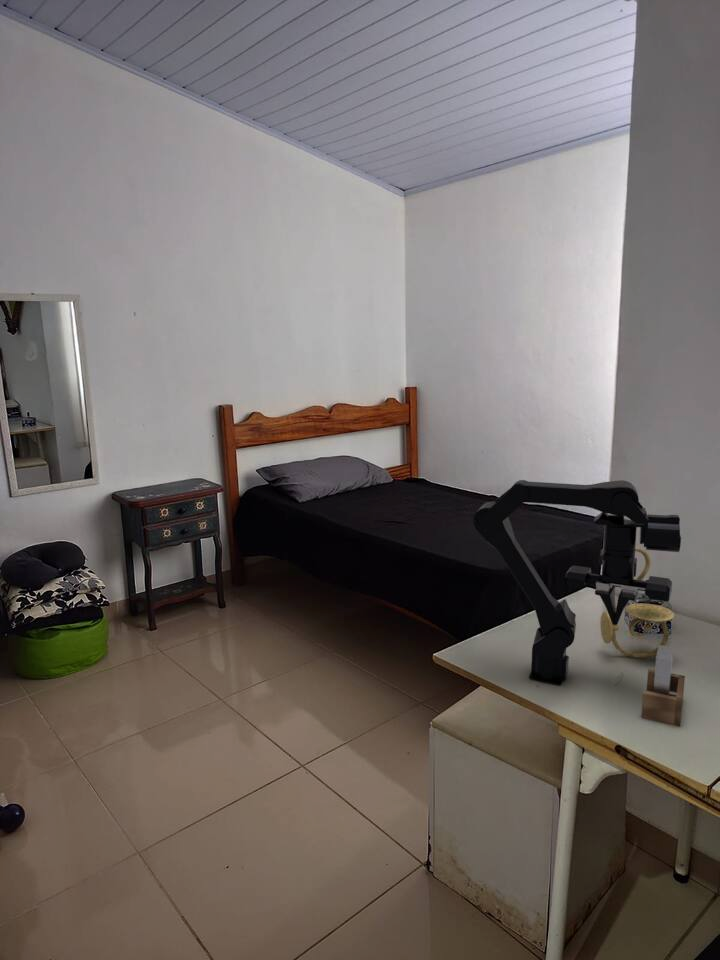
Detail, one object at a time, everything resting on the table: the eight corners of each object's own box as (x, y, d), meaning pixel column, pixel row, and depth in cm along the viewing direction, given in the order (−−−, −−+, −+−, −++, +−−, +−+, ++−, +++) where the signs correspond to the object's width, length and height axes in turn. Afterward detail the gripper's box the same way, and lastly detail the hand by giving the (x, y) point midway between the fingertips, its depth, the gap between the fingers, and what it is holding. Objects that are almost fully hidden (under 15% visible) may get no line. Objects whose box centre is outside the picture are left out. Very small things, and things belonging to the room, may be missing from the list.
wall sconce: (610, 667, 135) (617, 553, 130) (596, 647, 144) (602, 540, 140) (678, 668, 134) (687, 553, 130) (660, 648, 143) (668, 540, 139)
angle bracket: (644, 712, 118) (648, 656, 116) (647, 697, 123) (651, 643, 121) (674, 719, 115) (679, 662, 113) (676, 703, 120) (681, 648, 118)
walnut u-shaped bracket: (641, 718, 116) (643, 693, 115) (646, 692, 125) (648, 668, 124) (680, 727, 113) (682, 701, 112) (682, 700, 122) (685, 675, 121)
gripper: (677, 542, 124) (671, 618, 127) (577, 531, 134) (575, 602, 137) (671, 558, 115) (666, 639, 118) (565, 545, 124) (562, 621, 127)
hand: (615, 624), depth 125 cm, fingers closed
